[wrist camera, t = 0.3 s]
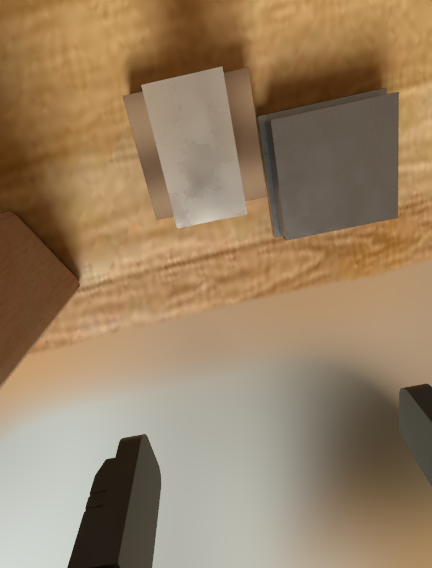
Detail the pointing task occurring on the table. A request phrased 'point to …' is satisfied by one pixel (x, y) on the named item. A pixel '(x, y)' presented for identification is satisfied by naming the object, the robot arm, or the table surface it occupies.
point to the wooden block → (27, 291)
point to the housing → (196, 146)
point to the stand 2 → (331, 164)
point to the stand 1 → (243, 135)
